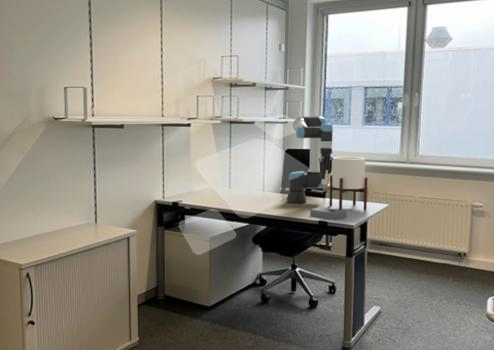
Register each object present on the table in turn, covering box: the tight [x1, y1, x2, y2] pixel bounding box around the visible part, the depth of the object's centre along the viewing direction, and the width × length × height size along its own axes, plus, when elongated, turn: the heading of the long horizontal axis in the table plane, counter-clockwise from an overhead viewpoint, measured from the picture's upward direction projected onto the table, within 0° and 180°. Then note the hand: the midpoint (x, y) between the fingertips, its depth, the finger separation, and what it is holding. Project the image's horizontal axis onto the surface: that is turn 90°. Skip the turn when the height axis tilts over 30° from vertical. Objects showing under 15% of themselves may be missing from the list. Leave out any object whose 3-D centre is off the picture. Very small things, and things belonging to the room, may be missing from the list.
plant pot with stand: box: [329, 156, 368, 211], centre depth 346 cm, size 22×22×36 cm
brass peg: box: [322, 170, 329, 193], centre depth 317 cm, size 3×3×14 cm
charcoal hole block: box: [309, 206, 348, 220], centre depth 318 cm, size 20×12×4 cm, turn 50°
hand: (325, 183), depth 317 cm, fingers closed on brass peg, 3 cm apart
